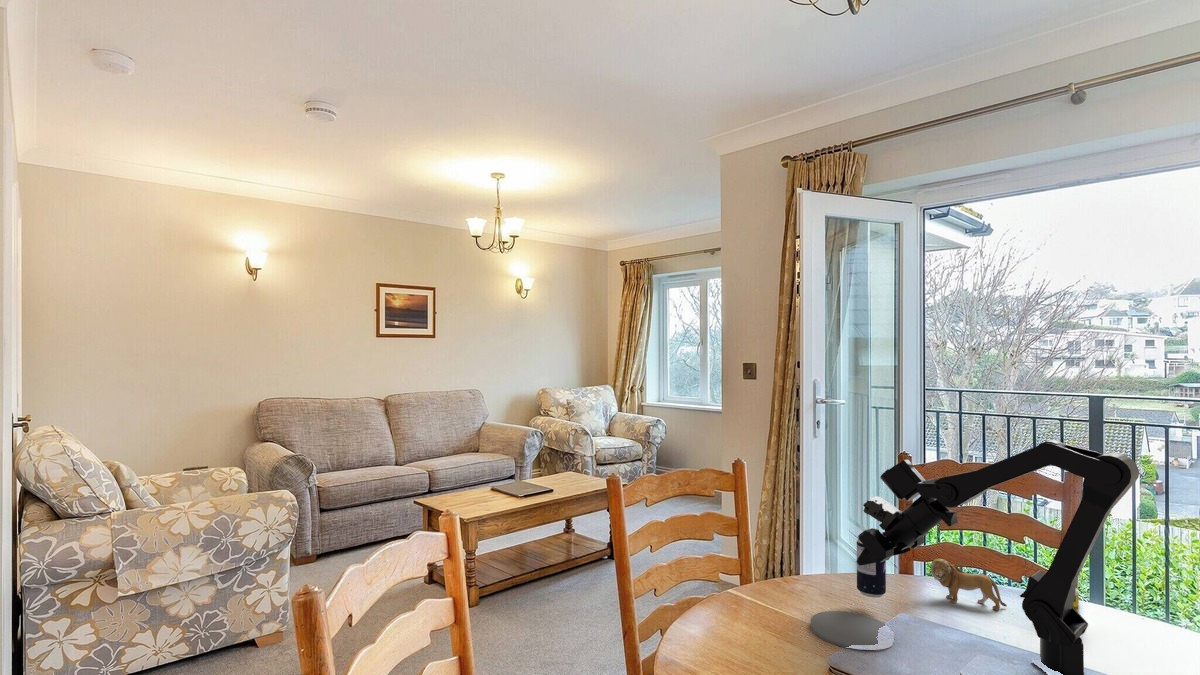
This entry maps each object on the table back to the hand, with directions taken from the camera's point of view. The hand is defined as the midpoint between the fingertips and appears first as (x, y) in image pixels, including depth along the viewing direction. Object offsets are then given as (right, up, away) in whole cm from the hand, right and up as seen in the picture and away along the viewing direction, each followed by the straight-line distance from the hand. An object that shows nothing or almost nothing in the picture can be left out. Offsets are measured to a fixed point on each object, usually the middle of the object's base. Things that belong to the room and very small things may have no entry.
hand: (864, 560), depth 131 cm
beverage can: (+1, -7, -1) cm, 7 cm away
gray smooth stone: (-8, -9, -13) cm, 18 cm away
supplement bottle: (+38, -11, -6) cm, 40 cm away
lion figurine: (+24, -11, +3) cm, 27 cm away
